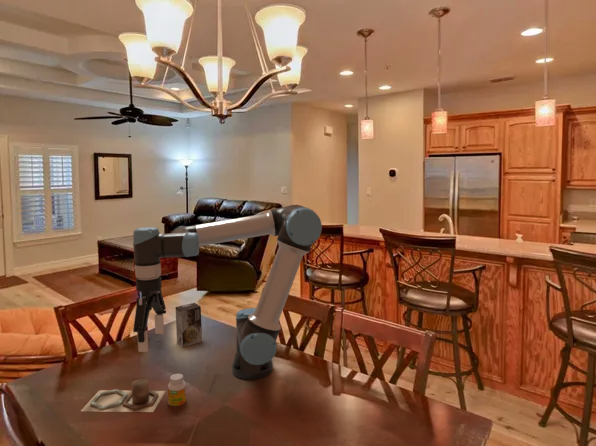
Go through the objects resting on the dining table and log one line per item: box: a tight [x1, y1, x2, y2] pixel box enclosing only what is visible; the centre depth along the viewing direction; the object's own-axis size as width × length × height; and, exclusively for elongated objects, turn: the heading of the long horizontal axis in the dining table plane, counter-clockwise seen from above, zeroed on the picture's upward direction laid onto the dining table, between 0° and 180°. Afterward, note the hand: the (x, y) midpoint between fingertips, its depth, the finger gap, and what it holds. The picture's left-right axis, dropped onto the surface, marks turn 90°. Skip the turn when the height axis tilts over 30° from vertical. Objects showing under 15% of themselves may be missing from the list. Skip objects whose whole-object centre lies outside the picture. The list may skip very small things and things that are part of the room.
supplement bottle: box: [167, 373, 187, 407], centre depth 130 cm, size 5×5×10 cm
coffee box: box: [175, 302, 203, 348], centre depth 177 cm, size 9×6×16 cm
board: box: [80, 388, 167, 413], centre depth 131 cm, size 22×12×2 cm, turn 90°
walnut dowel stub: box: [131, 378, 150, 405], centre depth 130 cm, size 5×5×6 cm
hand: (151, 342), depth 132 cm, fingers open, 13 cm apart
